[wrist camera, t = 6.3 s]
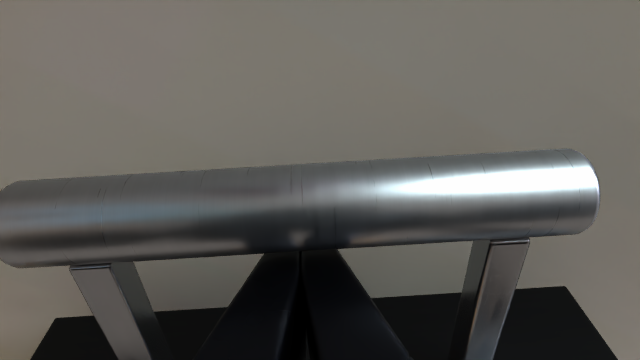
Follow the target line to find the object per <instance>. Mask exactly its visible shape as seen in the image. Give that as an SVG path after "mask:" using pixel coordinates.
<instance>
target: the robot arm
mask: <svg viewBox="0 0 640 360" xmlns="http://www.w3.org/2000/svg"><path fill="white" fill-rule="evenodd" d="M306 331H307V341H308V348H309V356H310V360H413V358H412V357H409V353H408V351H407V350H406V349H405V347H404V346H403V344H402V343H401V341H400V340H399V338H398V337H397V336H396V334H395V333H394V331H393V330H392V328H391V327H390V325H389V324H388V322H387V321H386V320H385V318H384V317H383V315H382V314H381V312H380V311H379V309H378V308H377V306H376V305H375V304H374V302H373V301H372V299H371V298H370V296H369V295H368V293H367V292H366V290H365V289H364V288H363V286H362V285H361V283H360V282H359V280H358V279H357V277H356V276H355V275H354V273H353V272H352V270H351V269H350V267H349V266H348V264H347V263H346V261H345V260H344V259H343V257H342V256H341V254H340V253H339V251H338V250H337V249H328V250H312V251H295V252H279V253H264V255H263V256H262V258H261V259H260V261H259V262H258V263H257V265H256V266H255V268H254V269H253V271H252V272H251V274H250V275H249V277H248V278H247V280H246V281H245V283H244V284H243V286H242V287H241V289H240V290H239V292H238V293H237V295H236V296H235V297H234V299H233V300H232V302H231V303H230V305H229V306H228V308H227V309H226V311H225V312H224V314H223V315H222V317H221V318H220V320H219V321H218V323H217V324H216V326H215V327H214V329H213V330H212V331H211V333H210V334H209V336H208V337H207V339H206V340H205V342H204V343H203V345H202V346H201V348H200V349H199V351H198V352H197V354H196V355H195V357H194V358H193V360H305V355H306Z"/></svg>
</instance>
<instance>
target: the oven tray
mask: <svg viewBox="0 0 640 360" xmlns="http://www.w3.org/2000/svg"><path fill="white" fill-rule="evenodd" d="M599 206H600V186H599V181H598V177H597V174H596V172H595V170H594V167H593V166H592V164H591V162H590V161H589V160H588V159H587V158H586V157H585V156H584V155H583V154H582V153H580V152H578V151H575V150H573V149H567V148H565V149H548V150H531V151H514V152H497V153H481V154H464V155H447V156H430V157H413V158H396V159H379V160H363V161H346V162H329V163H312V164H295V165H278V166H262V167H245V168H228V169H211V170H194V171H177V172H160V173H144V174H127V175H110V176H93V177H76V178H59V179H43V180H26V181H17V182H14V183H12V184H10V185H8V186H7V187H5V188H4V189H2V190H1V191H0V259H1V260H2V261H3V262H4V263H6V264H8V265H10V266H13V267H16V268H35V267H51V266H67V265H70V267H69V271H70V272H71V274H72V276H73V278H74V280H75V282H76V284H77V285H78V287H79V289H80V291H81V293H82V295H83V297H84V298H85V300H86V302H87V304H88V306H89V308H90V310H91V311H92V313H93V315H94V316H80V317H64V318H56V319H55V320H54V321H53V323H52V325H51V326H50V328H49V330H48V331H47V333H46V335H45V336H44V338H43V340H42V341H41V343H40V344H39V346H38V348H37V349H36V351H35V353H34V354H33V356H32V358H31V359H30V360H193V358H194V357H195V355H196V354H197V352H198V351H199V349H200V348H201V346H202V345H203V343H204V342H205V340H206V339H207V337H208V336H209V334H210V333H211V331H212V330H213V329H214V327H215V326H216V324H217V323H218V321H219V320H220V318H221V317H222V315H223V314H224V312H225V311H226V309H227V308H228V307H224V308H208V309H192V310H176V311H160V312H154V311H153V309H152V306H151V304H150V302H149V299H148V297H147V294H146V292H145V289H144V287H143V284H142V282H141V280H140V277H139V275H138V272H137V270H136V267H135V265H134V263H133V261H149V260H165V259H181V258H198V257H214V256H230V255H247V254H263V253H279V252H295V251H312V250H328V249H344V248H361V247H377V246H393V245H410V244H426V243H442V242H458V241H473V243H472V247H471V252H470V257H469V261H468V266H467V271H466V275H465V280H464V285H463V289H462V293H448V294H432V295H416V296H400V297H384V298H371V299H372V301H373V302H374V304H375V305H376V306H377V308H378V309H379V311H380V312H381V314H382V315H383V317H384V318H385V320H386V321H387V322H388V324H389V325H390V327H391V328H392V330H393V331H394V333H395V334H396V336H397V337H398V338H399V340H400V341H401V343H402V344H403V346H404V347H405V349H406V350H407V351H408V353H409V357H412V358H413V360H618V359H617V358H616V356H615V355H614V353H613V352H612V351H611V349H610V348H609V346H608V345H607V344H606V342H605V341H604V339H603V338H602V337H601V335H600V334H599V332H598V331H597V330H596V328H595V327H594V325H593V324H592V323H591V321H590V320H589V318H588V317H587V316H586V314H585V313H584V311H583V310H582V309H581V307H580V306H579V304H578V303H577V302H576V300H575V299H574V297H573V296H572V295H571V293H570V292H569V290H568V289H567V288H566V287H565V286H560V287H544V288H528V289H515V288H516V285H517V282H518V279H519V276H520V273H521V270H522V266H523V263H524V260H525V257H526V254H527V251H528V248H529V244H530V239H529V237H540V236H556V235H572V234H579V233H581V232H583V231H585V230H586V229H588V228H589V227H590V226H591V225H592V224H593V222H594V221H595V219H596V217H597V214H598V210H599ZM305 360H310V356H309V348H308V341H307V331H306V355H305Z"/></svg>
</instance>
